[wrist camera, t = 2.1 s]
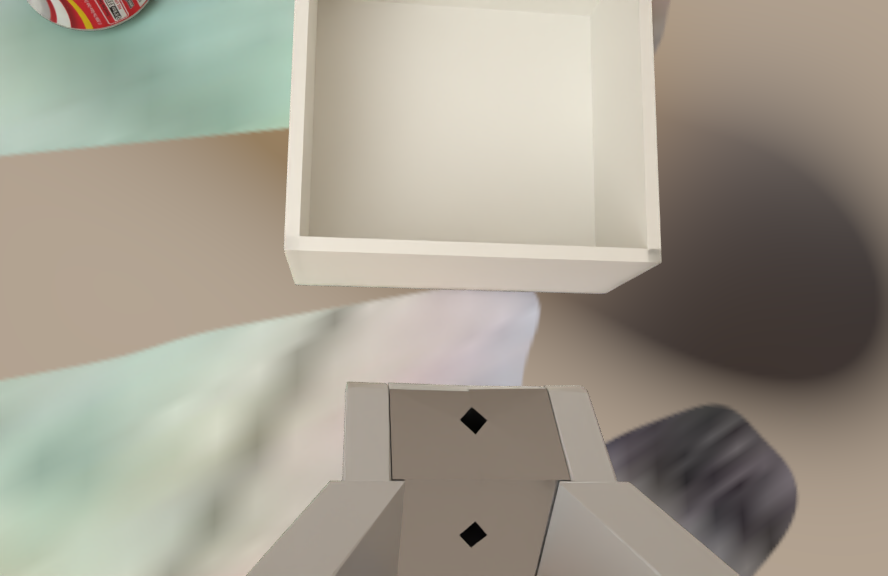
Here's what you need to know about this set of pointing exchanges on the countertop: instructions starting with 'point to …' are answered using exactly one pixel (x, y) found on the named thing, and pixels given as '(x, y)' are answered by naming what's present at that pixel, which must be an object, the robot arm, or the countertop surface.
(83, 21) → the soda can
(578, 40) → the box
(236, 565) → the countertop surface
